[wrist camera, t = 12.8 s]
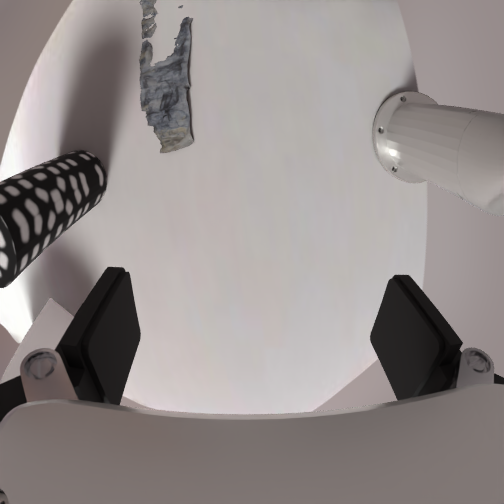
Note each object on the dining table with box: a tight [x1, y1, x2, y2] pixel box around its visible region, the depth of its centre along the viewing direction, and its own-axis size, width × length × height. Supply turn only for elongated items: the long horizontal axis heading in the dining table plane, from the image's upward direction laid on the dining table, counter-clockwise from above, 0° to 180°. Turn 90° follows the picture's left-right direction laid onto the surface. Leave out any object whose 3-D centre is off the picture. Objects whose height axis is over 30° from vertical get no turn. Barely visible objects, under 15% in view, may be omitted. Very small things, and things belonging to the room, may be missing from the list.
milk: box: [0, 297, 74, 384], centre depth 36 cm, size 12×12×26 cm
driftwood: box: [140, 0, 194, 153], centre depth 30 cm, size 21×7×2 cm, turn 179°
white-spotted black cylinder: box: [0, 150, 107, 288], centre depth 26 cm, size 8×8×20 cm
